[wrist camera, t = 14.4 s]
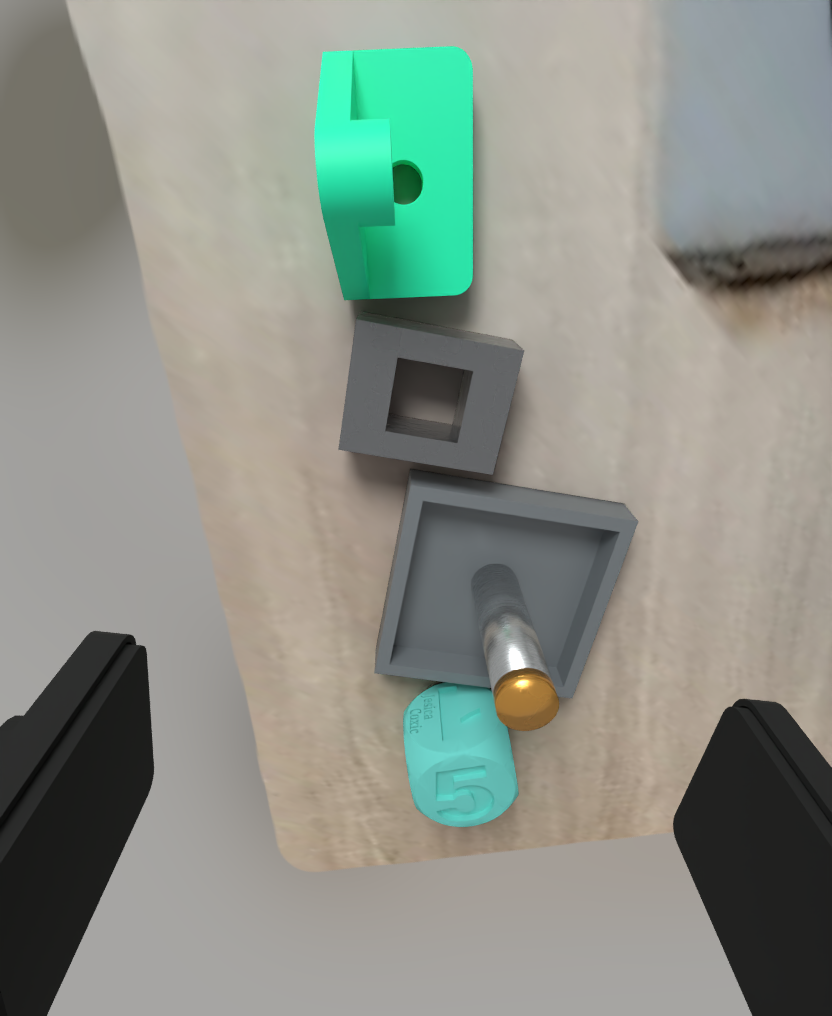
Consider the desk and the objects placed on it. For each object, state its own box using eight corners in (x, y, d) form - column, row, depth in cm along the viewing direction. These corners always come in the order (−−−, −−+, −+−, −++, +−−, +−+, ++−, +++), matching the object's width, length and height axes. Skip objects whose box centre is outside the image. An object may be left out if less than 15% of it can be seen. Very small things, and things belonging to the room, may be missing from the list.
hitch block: (512, 339, 39) (524, 350, 35) (484, 454, 42) (492, 475, 39) (360, 311, 38) (356, 319, 34) (344, 430, 41) (338, 449, 38)
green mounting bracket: (468, 290, 38) (490, 309, 28) (347, 295, 38) (330, 316, 28) (467, 59, 33) (494, -11, 23) (328, 64, 33) (299, -2, 23)
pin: (522, 567, 45) (566, 686, 33) (511, 606, 47) (549, 734, 35) (476, 560, 45) (504, 678, 33) (466, 600, 46) (489, 727, 34)
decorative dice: (495, 672, 50) (511, 746, 43) (506, 741, 54) (523, 820, 46) (402, 686, 51) (403, 762, 44) (419, 754, 54) (421, 835, 47)
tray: (623, 503, 44) (638, 521, 41) (562, 673, 51) (572, 698, 48) (410, 468, 42) (410, 485, 40) (375, 648, 49) (374, 673, 46)
